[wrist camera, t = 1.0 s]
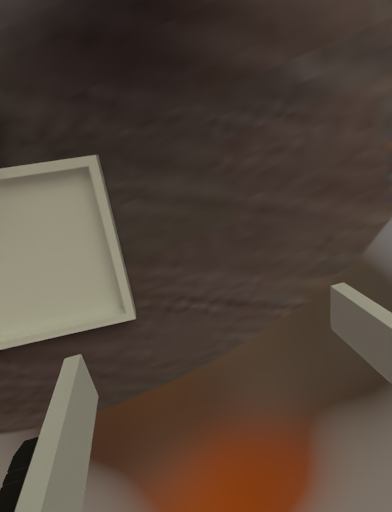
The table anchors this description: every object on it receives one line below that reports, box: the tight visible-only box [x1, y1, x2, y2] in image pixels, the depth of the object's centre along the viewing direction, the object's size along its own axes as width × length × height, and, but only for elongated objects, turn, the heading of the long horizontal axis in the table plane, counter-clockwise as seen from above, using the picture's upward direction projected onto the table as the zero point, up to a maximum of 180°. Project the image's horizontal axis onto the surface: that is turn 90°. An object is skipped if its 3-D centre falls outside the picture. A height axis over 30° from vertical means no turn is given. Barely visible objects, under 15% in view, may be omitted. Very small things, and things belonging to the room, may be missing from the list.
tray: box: [0, 155, 136, 350], centre depth 34 cm, size 20×20×2 cm
